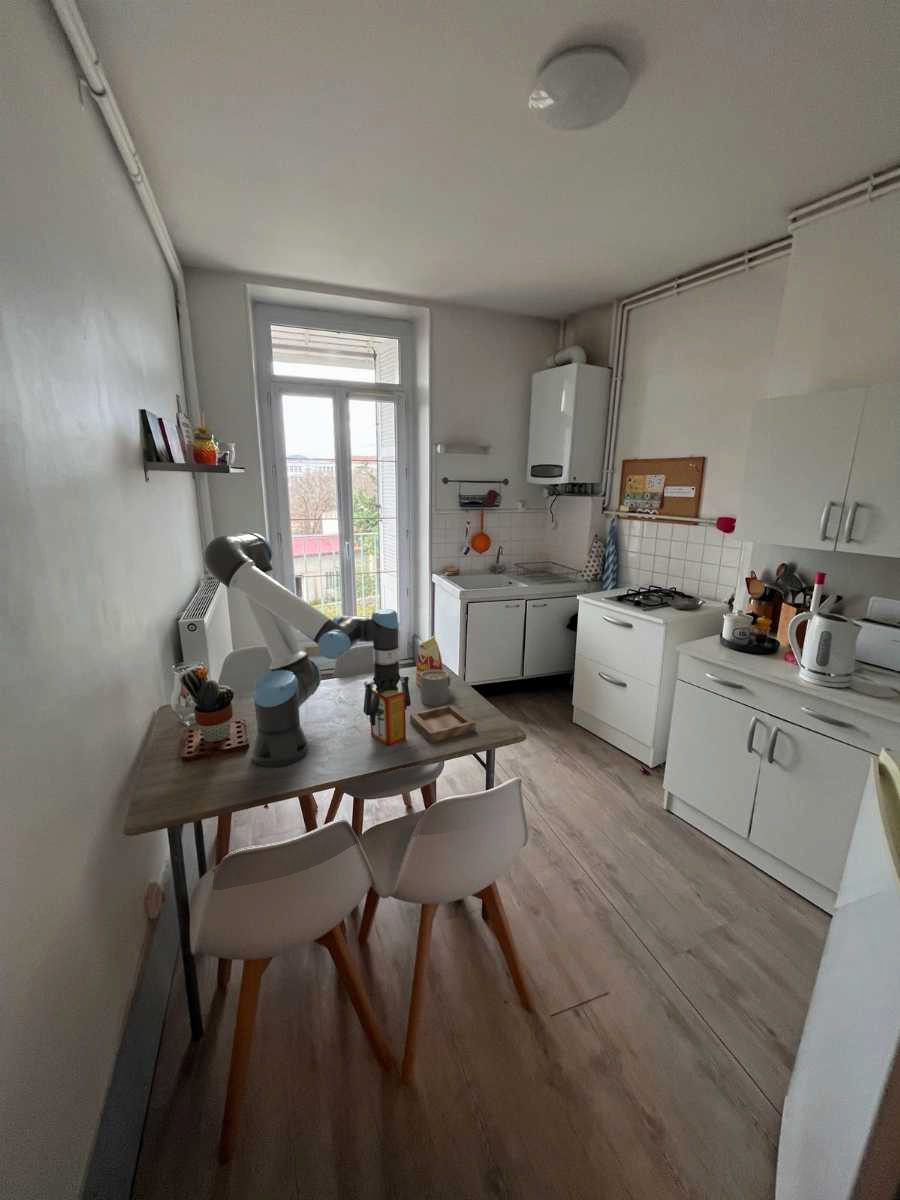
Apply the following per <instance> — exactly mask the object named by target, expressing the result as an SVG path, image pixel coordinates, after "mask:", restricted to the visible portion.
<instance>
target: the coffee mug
mask: <svg viewBox="0 0 900 1200" xmlns="http://www.w3.org/2000/svg"><path fill="white" fill-rule="evenodd" d="M450 684H451V675H450V674H449V673H448V672H447V671H446V670H444V669H443V670H436V669H434V670H426V671H424V672H422V673H421V687H420V702H421V703H422V704H423V705H426V706H431V707H435V706H442V705H445V704H447V703H448V702H449V687H450V686H451V685H450Z"/></svg>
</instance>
